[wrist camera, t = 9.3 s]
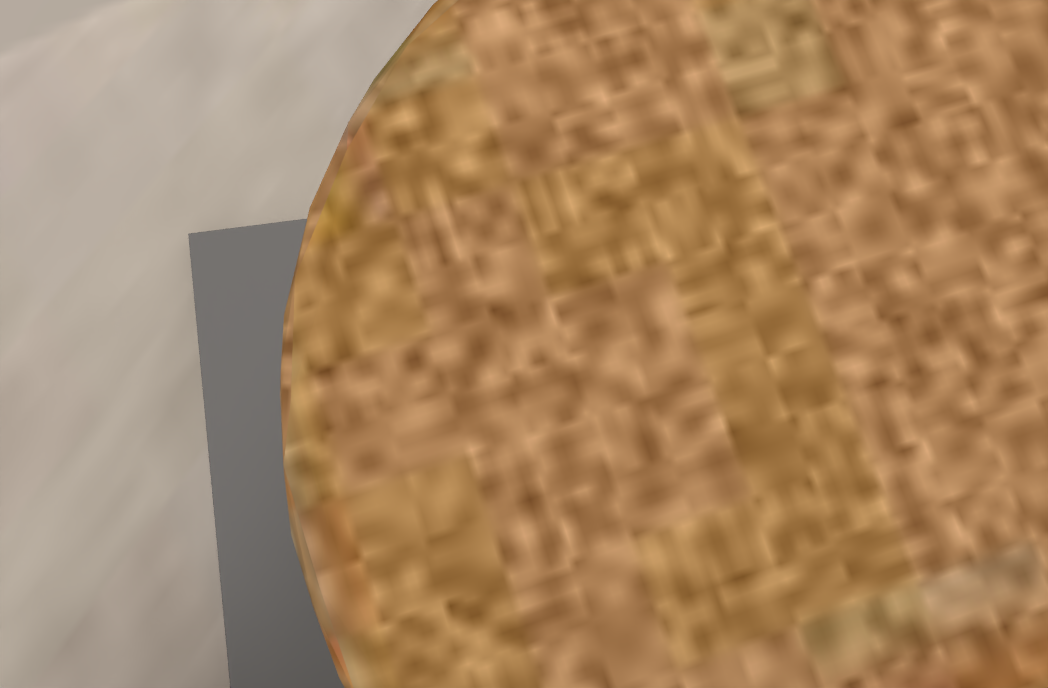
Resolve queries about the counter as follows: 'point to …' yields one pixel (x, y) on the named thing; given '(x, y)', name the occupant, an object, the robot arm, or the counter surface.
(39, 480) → the counter surface
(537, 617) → the bottle
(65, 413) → the counter surface
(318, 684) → the slate mat
